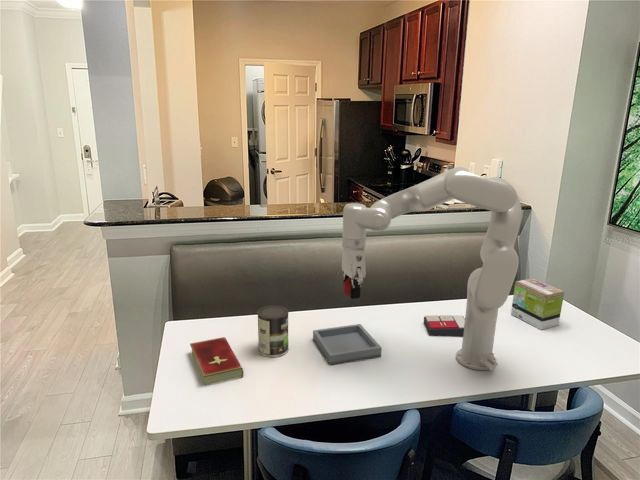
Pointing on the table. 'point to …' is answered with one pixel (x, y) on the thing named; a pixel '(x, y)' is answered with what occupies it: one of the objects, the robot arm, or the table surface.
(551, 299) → the tea box
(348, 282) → the onion
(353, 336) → the tray
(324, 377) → the table surface
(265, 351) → the coffee can
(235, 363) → the hardcover book
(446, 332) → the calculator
